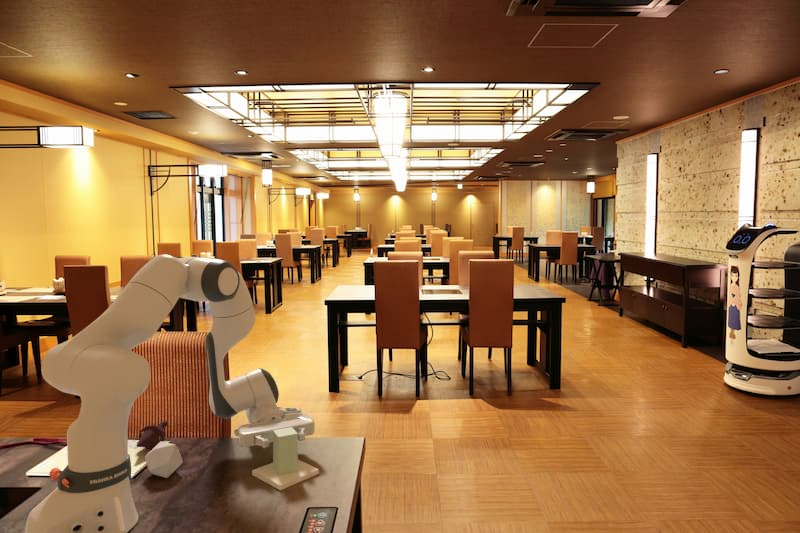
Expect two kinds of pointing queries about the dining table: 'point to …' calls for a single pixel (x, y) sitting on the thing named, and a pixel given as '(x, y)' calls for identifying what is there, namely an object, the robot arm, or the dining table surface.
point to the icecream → (152, 435)
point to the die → (163, 459)
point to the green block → (285, 451)
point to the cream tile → (286, 480)
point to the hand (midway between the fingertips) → (284, 441)
